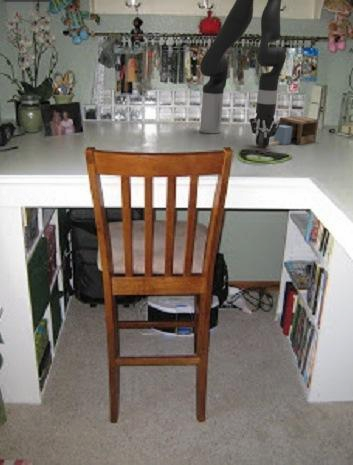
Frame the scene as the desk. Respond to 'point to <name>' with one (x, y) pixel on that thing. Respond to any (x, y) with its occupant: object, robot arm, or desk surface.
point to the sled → (278, 136)
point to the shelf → (301, 128)
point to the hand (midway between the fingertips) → (261, 145)
